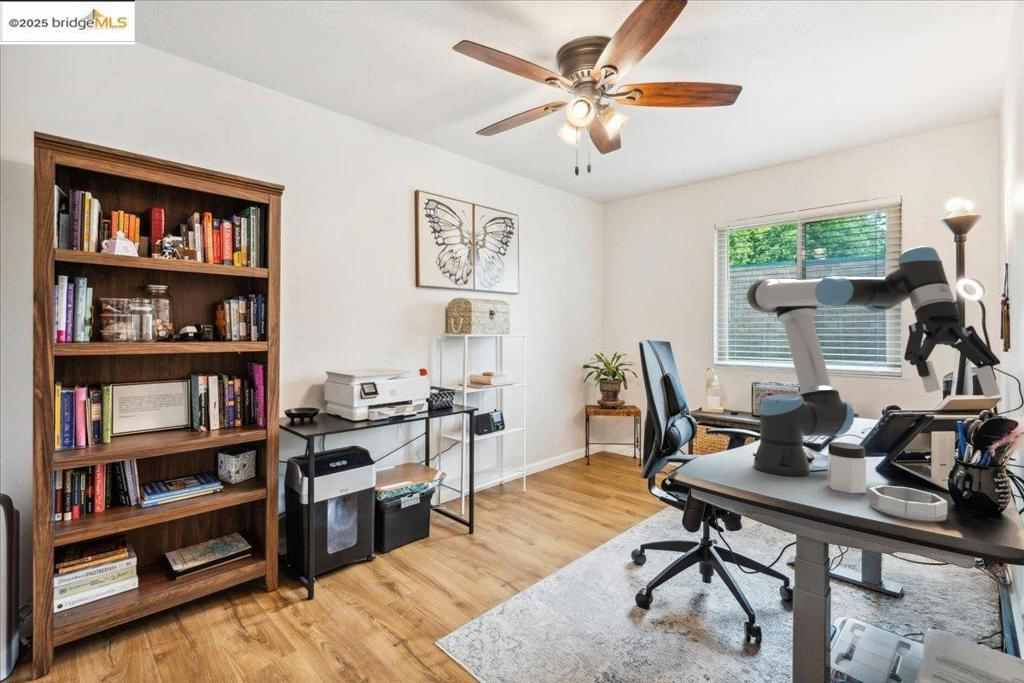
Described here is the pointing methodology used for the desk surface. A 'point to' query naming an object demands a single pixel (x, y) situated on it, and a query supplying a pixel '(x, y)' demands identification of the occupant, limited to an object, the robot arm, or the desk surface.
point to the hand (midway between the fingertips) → (963, 393)
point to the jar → (847, 467)
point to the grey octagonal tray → (908, 503)
